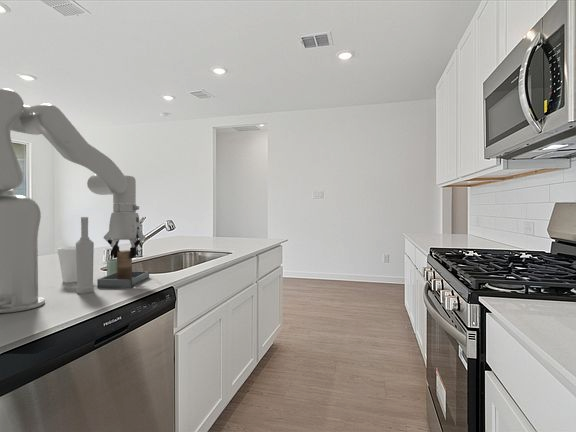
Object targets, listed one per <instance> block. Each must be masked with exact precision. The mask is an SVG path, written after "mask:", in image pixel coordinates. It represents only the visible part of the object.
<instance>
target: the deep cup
mask: <svg viewBox="0 0 576 432" xmlns="http://www.w3.org/2000/svg"><path fill="white" fill-rule="evenodd" d="M115 272H117V258H112V259H111V258H110V259H107V260H106V276H107V275H110V274H113V273H115Z"/></svg>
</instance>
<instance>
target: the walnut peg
mask: <svg viewBox="0 0 576 432" xmlns="http://www.w3.org/2000/svg"><path fill="white" fill-rule="evenodd" d="M116 259H117V279H132V271H133V258H130V249H128V250H127V249H126V250H119V251H117V258H116Z"/></svg>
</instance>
